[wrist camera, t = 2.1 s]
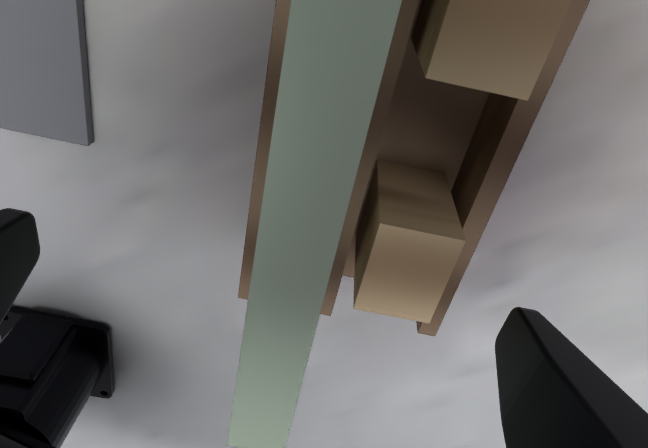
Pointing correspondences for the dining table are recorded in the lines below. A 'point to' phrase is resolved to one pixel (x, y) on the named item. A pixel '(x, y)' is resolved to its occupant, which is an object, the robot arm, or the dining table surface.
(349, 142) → the green rectangular slab
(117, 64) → the dining table surface
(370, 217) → the offcut
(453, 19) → the offcut
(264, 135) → the rack
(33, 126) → the mat
